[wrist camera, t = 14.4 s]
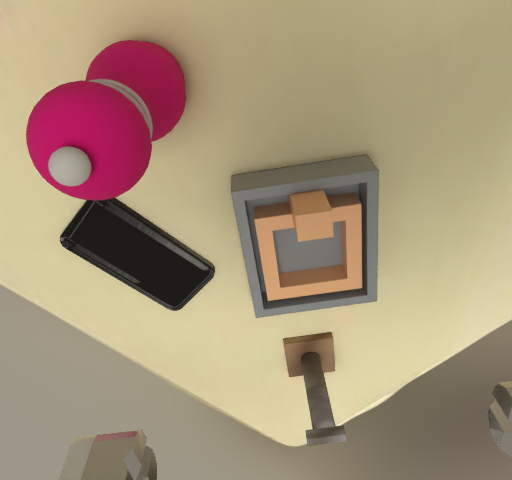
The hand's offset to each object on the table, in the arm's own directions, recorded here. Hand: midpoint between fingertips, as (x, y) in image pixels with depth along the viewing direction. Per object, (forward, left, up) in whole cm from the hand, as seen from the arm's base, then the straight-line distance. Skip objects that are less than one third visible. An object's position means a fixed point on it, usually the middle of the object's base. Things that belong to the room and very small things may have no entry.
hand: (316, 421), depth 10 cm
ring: (-3, +14, -30) cm, 33 cm away
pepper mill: (+9, -3, -31) cm, 33 cm away
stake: (-2, +32, -31) cm, 45 cm away
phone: (+15, +14, -32) cm, 37 cm away
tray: (-3, +14, -31) cm, 34 cm away
